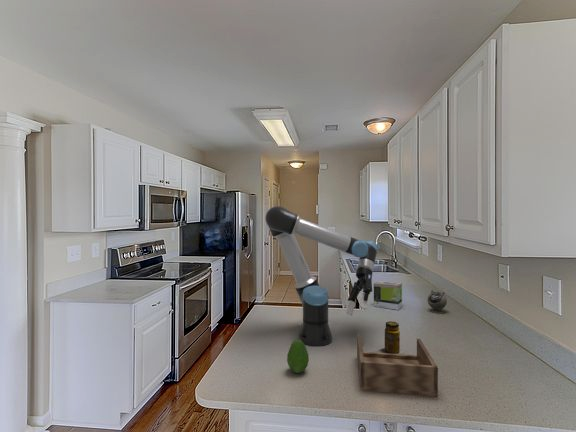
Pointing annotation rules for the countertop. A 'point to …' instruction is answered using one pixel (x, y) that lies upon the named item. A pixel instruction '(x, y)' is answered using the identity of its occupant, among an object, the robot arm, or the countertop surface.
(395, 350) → the condiment
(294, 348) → the avocado
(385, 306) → the tea box
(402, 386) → the tray
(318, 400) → the countertop surface
